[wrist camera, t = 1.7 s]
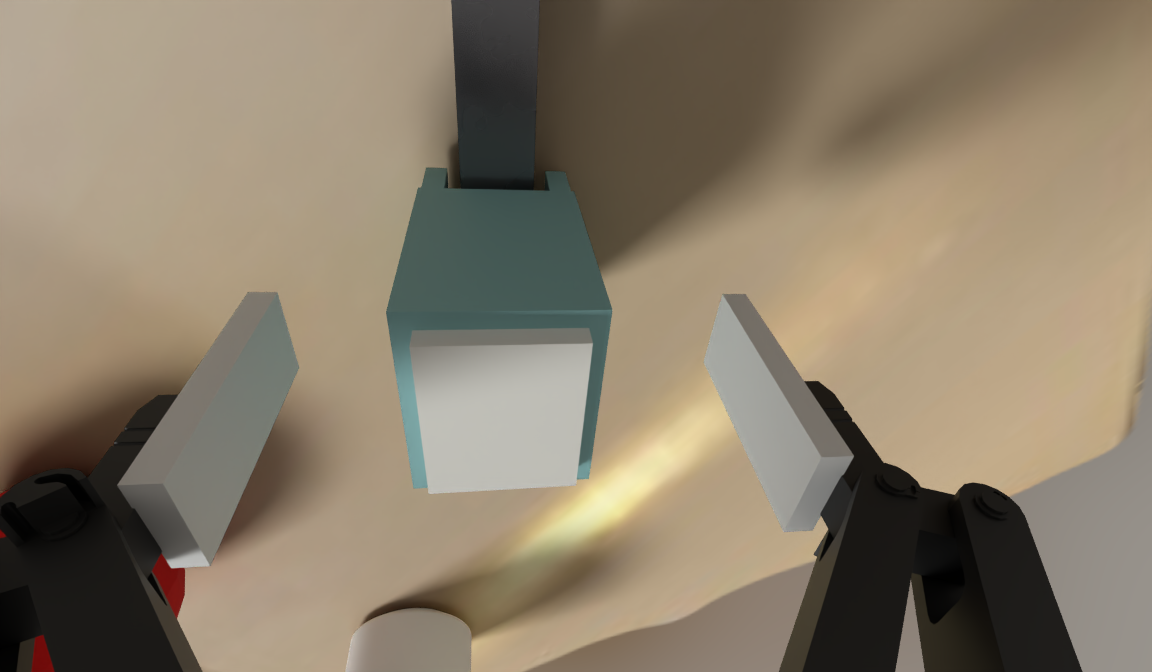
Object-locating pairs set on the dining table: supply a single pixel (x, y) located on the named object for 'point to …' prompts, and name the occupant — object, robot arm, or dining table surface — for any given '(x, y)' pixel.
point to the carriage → (498, 337)
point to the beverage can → (411, 643)
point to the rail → (496, 91)
